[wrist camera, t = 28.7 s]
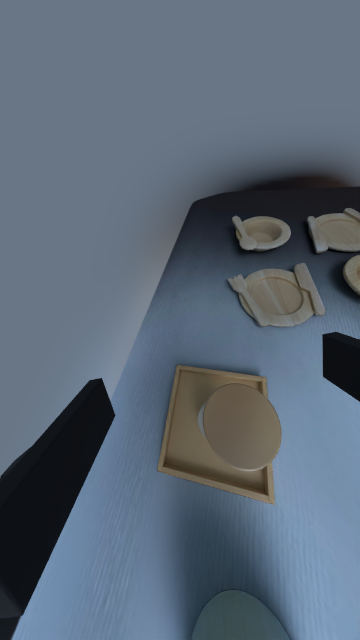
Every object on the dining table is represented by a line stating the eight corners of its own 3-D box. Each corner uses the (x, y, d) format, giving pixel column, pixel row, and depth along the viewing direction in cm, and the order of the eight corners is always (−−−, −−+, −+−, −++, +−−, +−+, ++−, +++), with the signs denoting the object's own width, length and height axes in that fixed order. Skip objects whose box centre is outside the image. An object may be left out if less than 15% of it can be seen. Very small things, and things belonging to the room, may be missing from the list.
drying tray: (161, 467, 22) (156, 471, 21) (178, 368, 29) (176, 364, 27) (269, 497, 20) (275, 505, 18) (262, 379, 26) (266, 377, 24)
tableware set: (237, 333, 30) (240, 322, 27) (215, 234, 45) (216, 219, 42) (468, 313, 26) (508, 297, 23) (361, 212, 41) (375, 193, 38)
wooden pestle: (197, 436, 23) (145, 506, 4) (201, 399, 25) (178, 341, 7) (232, 444, 22) (361, 579, 3) (233, 405, 24) (314, 356, 6)
